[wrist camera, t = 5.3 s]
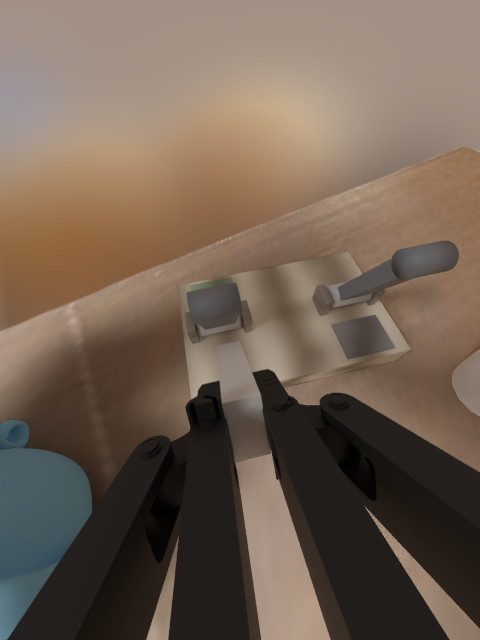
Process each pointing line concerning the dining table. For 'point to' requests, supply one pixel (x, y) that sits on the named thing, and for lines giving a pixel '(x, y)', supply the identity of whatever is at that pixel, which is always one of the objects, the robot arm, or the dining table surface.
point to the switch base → (295, 324)
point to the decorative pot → (34, 518)
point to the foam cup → (468, 382)
